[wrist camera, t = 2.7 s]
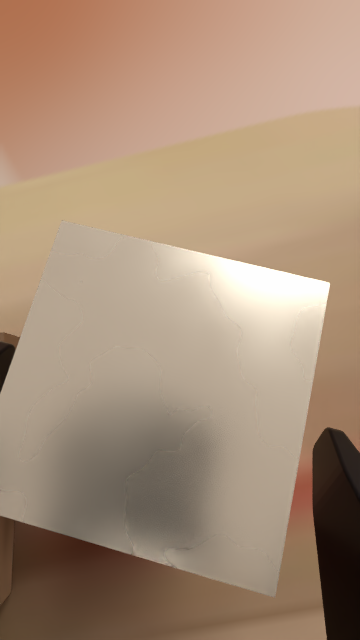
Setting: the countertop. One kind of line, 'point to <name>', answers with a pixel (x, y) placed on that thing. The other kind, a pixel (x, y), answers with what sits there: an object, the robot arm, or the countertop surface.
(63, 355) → the cream tea tin
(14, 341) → the walnut block
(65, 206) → the countertop surface
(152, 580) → the countertop surface
